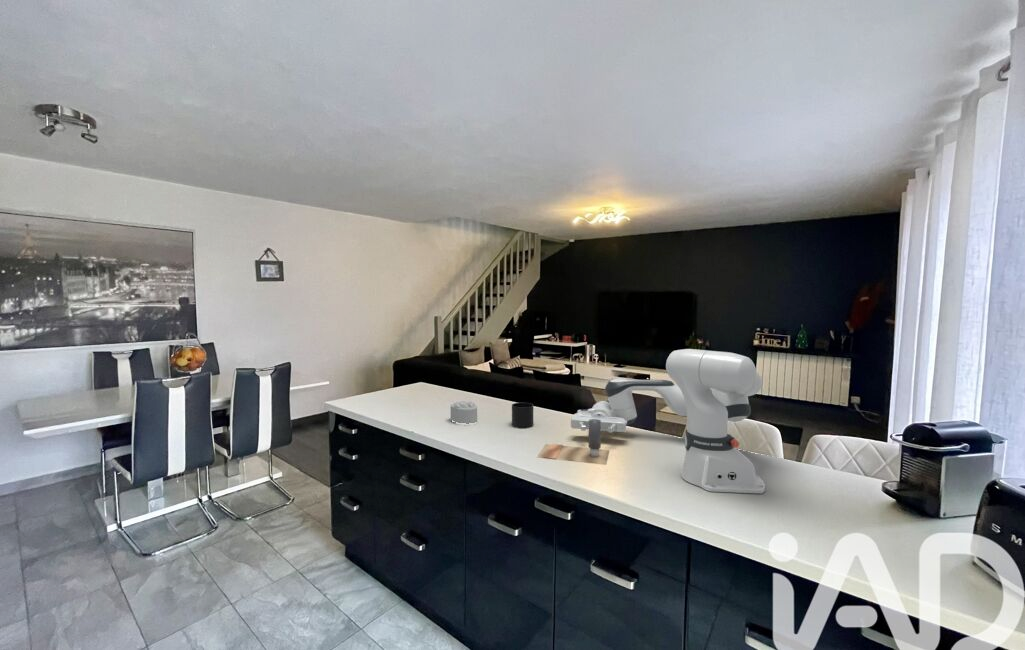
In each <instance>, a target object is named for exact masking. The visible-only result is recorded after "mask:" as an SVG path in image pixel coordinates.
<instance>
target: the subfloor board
mask: <svg viewBox="0 0 1025 650" xmlns="http://www.w3.org/2000/svg"><path fill="white" fill-rule="evenodd" d="M609 454H610V449H601V448H599V457H591V456H590V448H589V447H581V446H572V445H571V446H570V445H564V444H557V443H556V444H555V443H552V444H549V443H545V444H544V446H543V447H542V449H541V450H540V452H539V453H538V455H537V456H536V458H539V459H547V460H556V461H557V460H558V461H565V462H566V461H567V462H576V463H585V464H593V465H594V464H595V465H603V466H604V465H605V466H606V465H607V463H608V459H609Z"/></svg>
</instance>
